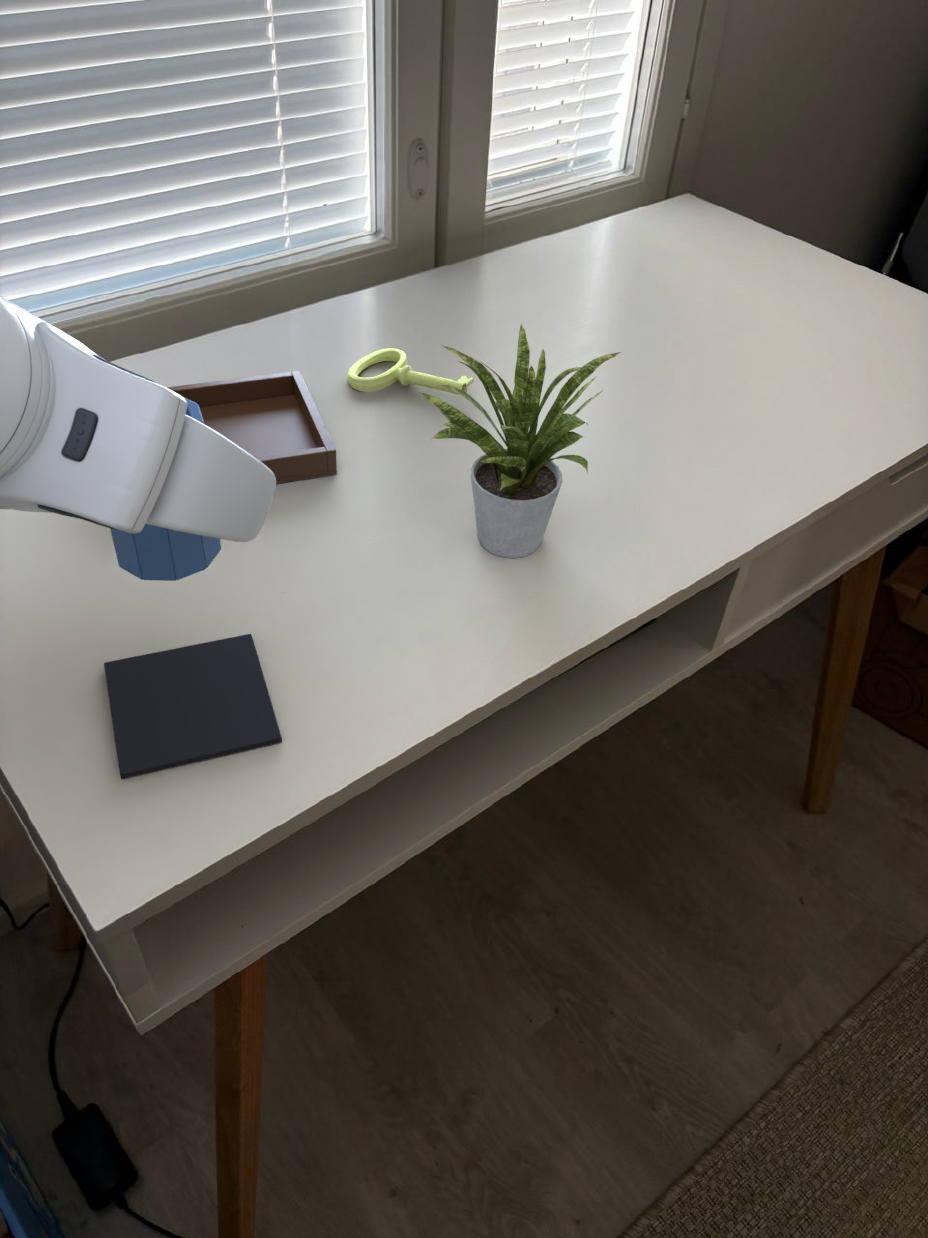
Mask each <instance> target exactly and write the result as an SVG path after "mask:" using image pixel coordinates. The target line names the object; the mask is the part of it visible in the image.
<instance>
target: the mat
mask: <svg viewBox="0 0 928 1238" xmlns="http://www.w3.org/2000/svg"><path fill="white" fill-rule="evenodd" d="M103 667H104V672H105V673H104V674H105V680H106V681H105V682H106V689H107V695H108V701H109V708H110V709H109V710H110V716H111V723H112V730H113V736H114V744H115V750H116V758H117V765H118V770H119V771H118V772H119V773H118V774H119V776H120V779H121V780H124V779H125V780H126V779H129V778H134V777H137V776H142V775H146V774H151V773H155V772H159V771H164V770H168V769H173V768H178V767H181V766H185V765H190V764H194V763H199V762H203V761H208V760H211V759H215V758H220V757H224V756H225V757H226V756H229V755H233V754H238V753H242V752H247V751H252V750H256V749H259V748H263V747H268V746H269V747H270V746H272V745H277V744H282V743H283V739H282V738H283V737H282V735H281V731H280V728H279V724H278V720H277V717H276V713H275V710H274V707H273V703H272V701H271V697H270V693H269V690H268V686H267V683H266V680H265V676H264V672H263V668H262V666H261V663H260V659H259V655H258V652H257V649H256V645H255V641H254V639H253V635H252V633H245V634H242V635H236V636H231V637H226V638H222V639H216V640H211V641H207V642H202V643H197V644H191V645H186V646H181V647H175V648H170V649H165V650H161V651H155V652H151V653H146V654H140V655H135V656H130V657H126V658H120V659H115V660H111V661H110V660H109V661H105V662H103Z"/></svg>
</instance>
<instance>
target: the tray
mask: <svg viewBox="0 0 928 1238" xmlns="http://www.w3.org/2000/svg"><path fill="white" fill-rule="evenodd" d="M165 387H166V386H165ZM166 388H168V389H170V390H172V391H174V392H175V393H177V394H179V395H181V396H182V397H184V398H186V399H188V400H191V401H193V402H195V403H197V404H198V405H199V408H200V412H201V415H202V418H203V421H204V425H206V426H208V427H210V428H211V429H213V430H215V431H216V432H218V433H219V434H221V435H223V436H224V437H226V438H227V439H229V440H230V441H232V442H233V443H235V444H236V445H237V446H239V447H240V448H242V449H243V450H245V451H246V452H248V453H249V454H251V455H252V456H253V457H255V458H256V459H257V460H259V461H260V462H262V463H263V464H264V465H266V466H267V467H268V468H269V469H270V470H271V471H272V472H273V473H274V475H275V477H276V485H278V484H283V483H284V484H285V483H291V482H297V481H302V480H310V479H317V478H323V477H328V476H336V475H337V474H338V467H337V466H338V465H337V464H338V463H337V449H336V447H335V445H334V443H333V441H332V438H331V436H330V434H329V431H328V429H327V427H326V425H325V424H324V421H323V419H322V417H321V414H320V413H319V410H318V408H317V405H316V404H315V401H314V400H313V397H312V395H311V393H310V391H309V390H310V389H309V388H308V387H307V384H306V382H305V379H304V377H303V375H302V374H301V371H300V370H293V371H286V372H278V373H271V374H269V373H268V374H262V375H255V376H247V377H238V378H229V379H222V380H221V379H220V380H215V381H207V382H206V381H205V382H198V383H192V384H190V383H189V384H182V385H173V386H167V387H166Z"/></svg>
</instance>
